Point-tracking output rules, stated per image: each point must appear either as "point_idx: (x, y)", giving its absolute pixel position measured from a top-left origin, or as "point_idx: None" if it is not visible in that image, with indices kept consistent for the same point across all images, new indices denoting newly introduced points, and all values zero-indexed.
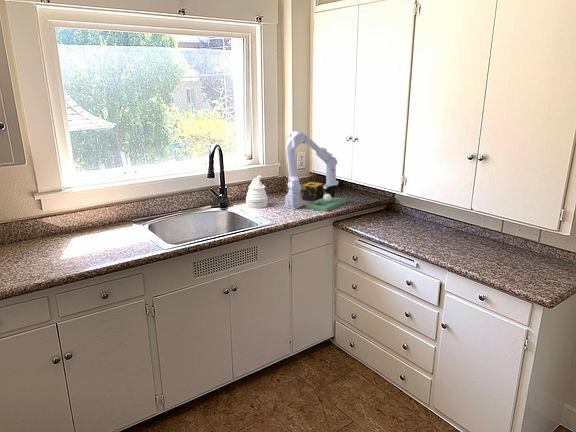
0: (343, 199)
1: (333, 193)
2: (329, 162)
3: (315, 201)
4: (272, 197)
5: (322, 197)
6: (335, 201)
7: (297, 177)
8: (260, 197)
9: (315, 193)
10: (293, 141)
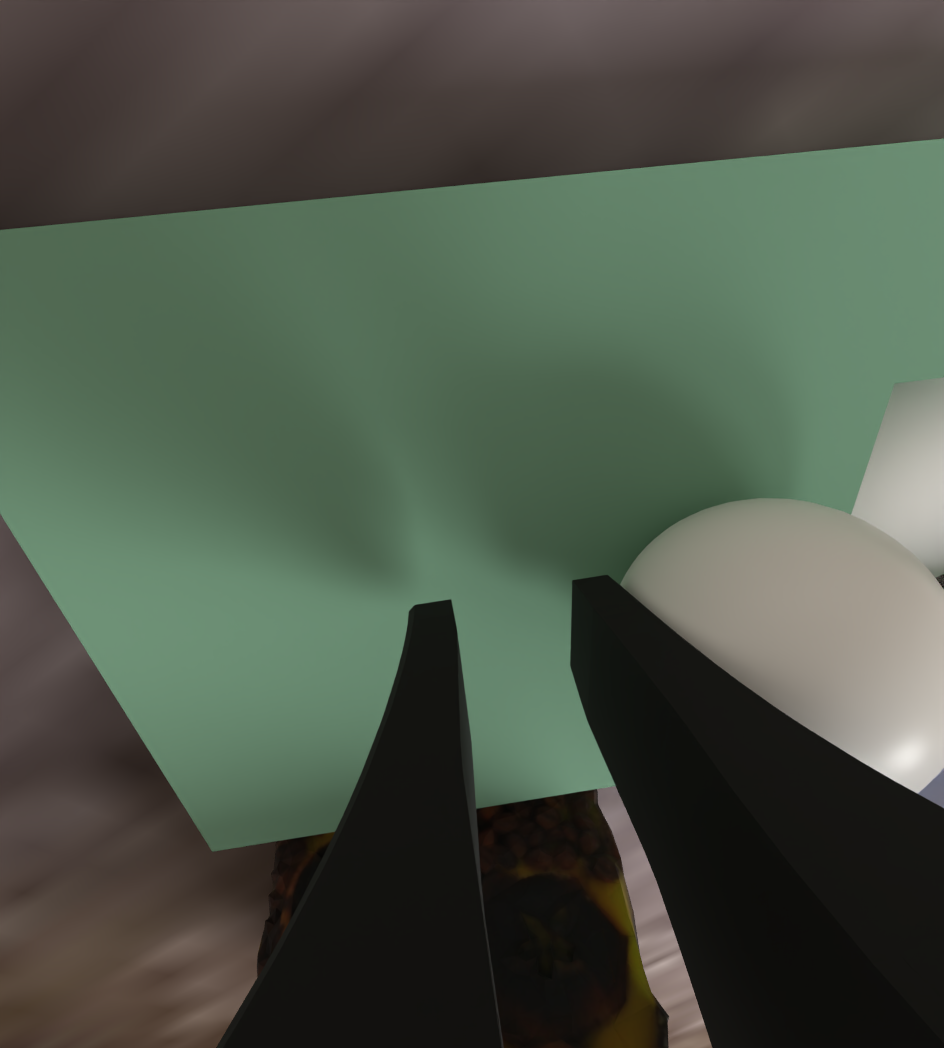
0: (39, 346)
1: (464, 745)
2: None
3: None
4: (679, 1040)
5: (318, 849)
6: (528, 402)
7: None
8: None
9: (642, 977)
10: None
